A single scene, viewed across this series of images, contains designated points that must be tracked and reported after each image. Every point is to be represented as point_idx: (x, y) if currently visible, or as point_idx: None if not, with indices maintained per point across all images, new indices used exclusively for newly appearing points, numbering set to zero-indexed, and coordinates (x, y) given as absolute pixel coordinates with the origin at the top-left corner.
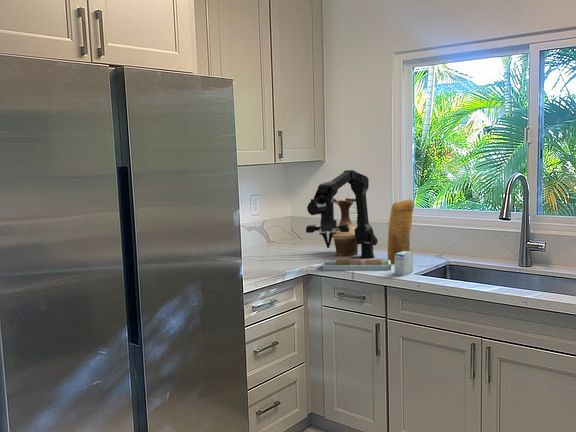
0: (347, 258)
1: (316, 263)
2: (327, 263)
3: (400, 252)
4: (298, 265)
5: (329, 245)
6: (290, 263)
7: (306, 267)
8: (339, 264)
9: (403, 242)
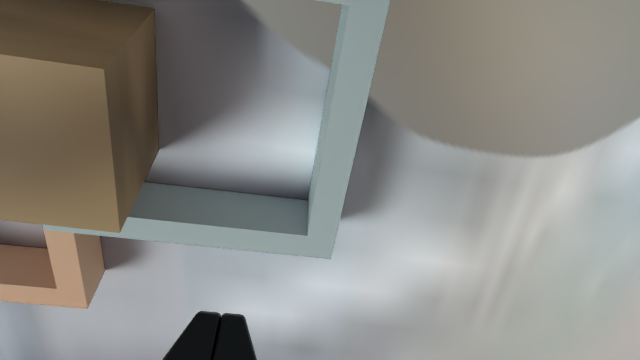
0: None
1: (380, 322)
2: (273, 218)
3: None
4: (578, 276)
5: (172, 355)
6: (615, 351)
7: (529, 179)
8: (75, 23)
9: None
